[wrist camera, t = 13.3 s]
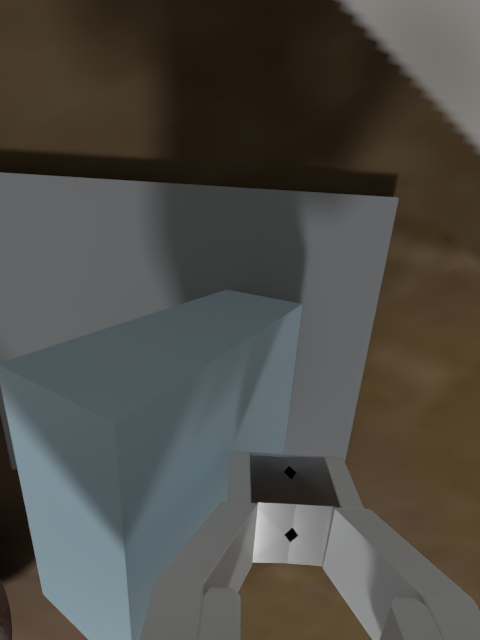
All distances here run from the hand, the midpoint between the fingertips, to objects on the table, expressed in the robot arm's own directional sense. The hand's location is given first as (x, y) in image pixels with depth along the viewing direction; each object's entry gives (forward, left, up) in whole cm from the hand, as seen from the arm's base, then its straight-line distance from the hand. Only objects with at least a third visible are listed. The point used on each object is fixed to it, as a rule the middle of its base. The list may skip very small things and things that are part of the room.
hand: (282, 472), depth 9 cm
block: (0, 0, -6) cm, 6 cm away
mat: (+4, 0, -8) cm, 9 cm away
